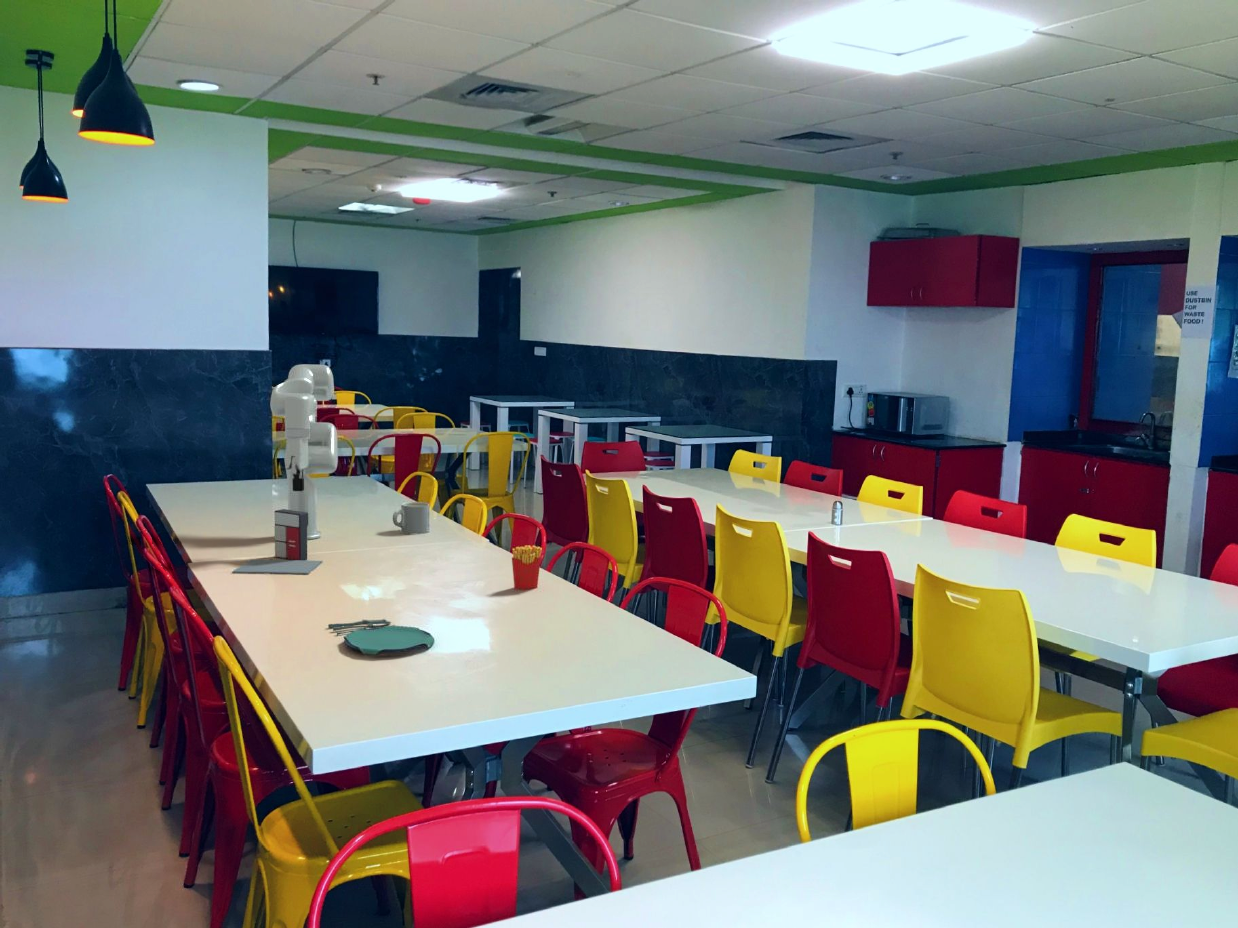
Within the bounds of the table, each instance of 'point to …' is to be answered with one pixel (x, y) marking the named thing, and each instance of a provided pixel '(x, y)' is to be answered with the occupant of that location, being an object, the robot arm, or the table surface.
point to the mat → (278, 566)
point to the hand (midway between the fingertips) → (298, 490)
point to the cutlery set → (383, 637)
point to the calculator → (291, 534)
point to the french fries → (526, 566)
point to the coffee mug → (413, 517)
